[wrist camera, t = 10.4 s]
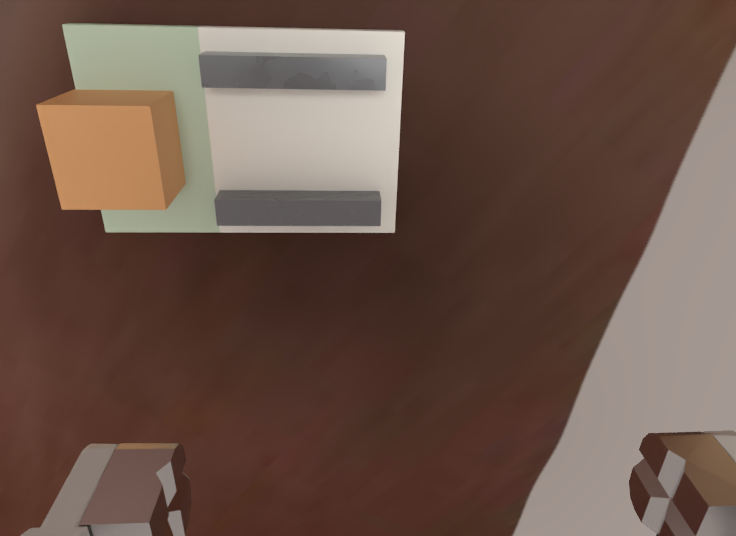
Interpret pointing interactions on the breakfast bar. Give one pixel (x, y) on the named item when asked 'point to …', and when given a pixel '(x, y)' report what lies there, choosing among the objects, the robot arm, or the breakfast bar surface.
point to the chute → (262, 122)
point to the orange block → (113, 149)
